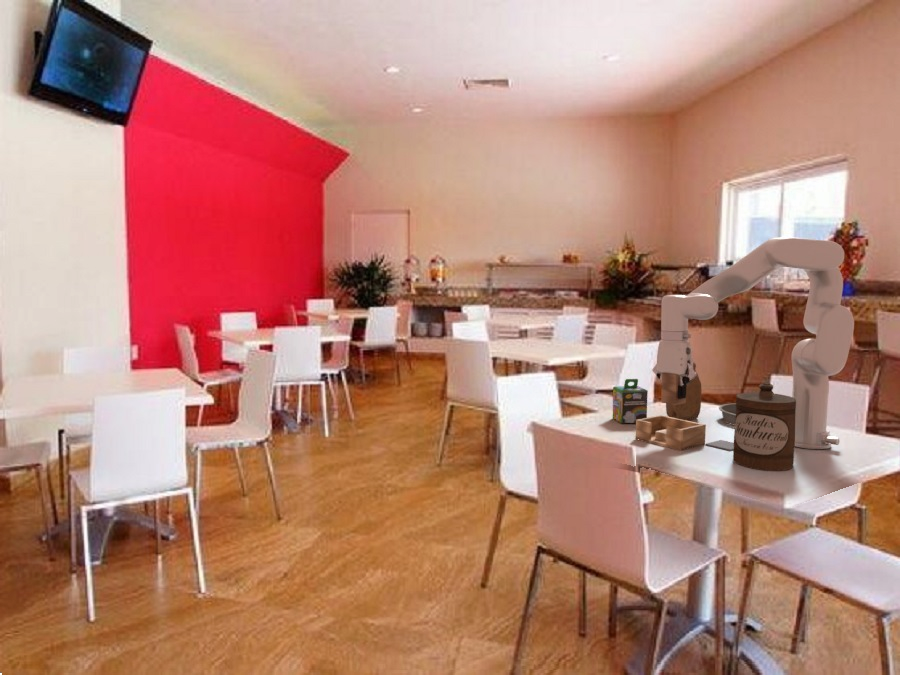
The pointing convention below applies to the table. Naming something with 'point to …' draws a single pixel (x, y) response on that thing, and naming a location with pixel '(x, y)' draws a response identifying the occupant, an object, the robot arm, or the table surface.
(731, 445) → the grey pad
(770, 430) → the wooden container
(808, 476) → the table surface
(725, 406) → the cake pan
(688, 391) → the brown tall rounded lump
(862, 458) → the table surface
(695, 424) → the oak crate
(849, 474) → the table surface
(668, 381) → the walnut block
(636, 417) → the chalk box
